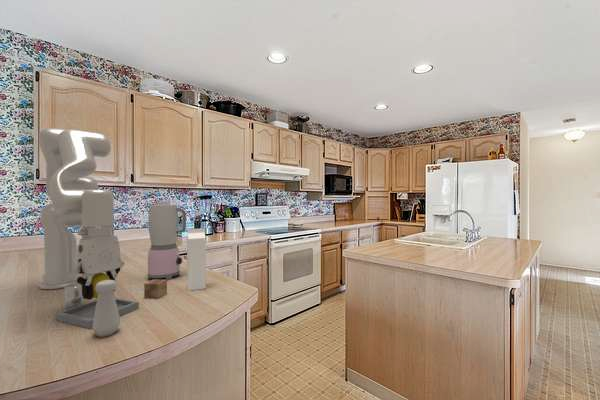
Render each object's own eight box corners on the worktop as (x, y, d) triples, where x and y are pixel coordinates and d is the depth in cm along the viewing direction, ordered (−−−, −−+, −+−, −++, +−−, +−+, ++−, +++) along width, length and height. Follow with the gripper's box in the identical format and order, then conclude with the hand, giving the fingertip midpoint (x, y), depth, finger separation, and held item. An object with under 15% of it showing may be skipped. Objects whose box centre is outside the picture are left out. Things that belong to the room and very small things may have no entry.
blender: (141, 281, 112) (140, 201, 112) (157, 272, 125) (156, 201, 124) (180, 281, 112) (179, 201, 112) (192, 272, 124) (191, 201, 124)
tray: (55, 320, 77) (55, 313, 77) (106, 302, 90) (106, 296, 90) (90, 328, 72) (90, 321, 72) (138, 308, 85) (138, 301, 85)
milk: (187, 286, 106) (186, 228, 106) (204, 284, 109) (203, 227, 109) (188, 291, 101) (187, 230, 100) (206, 288, 103) (205, 229, 103)
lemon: (98, 303, 78) (98, 275, 77) (82, 302, 79) (82, 274, 79) (115, 296, 83) (115, 270, 83) (100, 295, 84) (99, 269, 84)
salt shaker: (102, 327, 73) (101, 277, 72) (125, 326, 73) (124, 277, 73) (86, 339, 67) (86, 285, 67) (112, 338, 67) (111, 284, 67)
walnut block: (144, 298, 94) (144, 283, 94) (153, 293, 99) (153, 279, 98) (158, 299, 93) (158, 284, 93) (166, 293, 98) (166, 279, 98)
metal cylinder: (61, 311, 83) (61, 287, 83) (77, 305, 88) (77, 283, 87) (71, 313, 82) (70, 289, 82) (86, 307, 86) (86, 284, 86)
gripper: (74, 237, 71) (75, 307, 71) (134, 229, 87) (135, 287, 88) (55, 236, 74) (56, 304, 74) (117, 228, 90) (118, 284, 90)
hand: (99, 294), depth 81 cm, fingers closed on lemon, 5 cm apart
